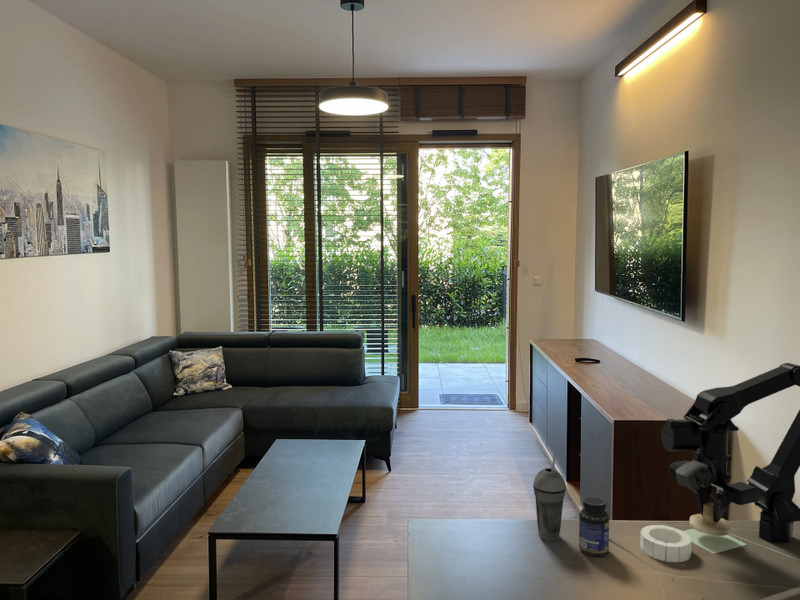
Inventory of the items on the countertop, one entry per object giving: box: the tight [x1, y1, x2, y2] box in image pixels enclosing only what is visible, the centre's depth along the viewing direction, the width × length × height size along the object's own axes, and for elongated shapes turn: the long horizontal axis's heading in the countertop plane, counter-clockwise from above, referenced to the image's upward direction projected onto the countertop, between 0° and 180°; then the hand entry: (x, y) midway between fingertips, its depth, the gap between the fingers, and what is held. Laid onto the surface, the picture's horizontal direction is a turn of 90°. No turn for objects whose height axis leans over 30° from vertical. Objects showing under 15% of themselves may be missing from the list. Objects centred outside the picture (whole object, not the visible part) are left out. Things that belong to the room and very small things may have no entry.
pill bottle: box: [578, 496, 610, 558], centre depth 127 cm, size 6×6×11 cm
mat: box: [682, 528, 748, 554], centre depth 131 cm, size 10×10×1 cm
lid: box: [689, 502, 732, 536], centre depth 130 cm, size 8×8×5 cm
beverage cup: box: [532, 449, 567, 542], centre depth 133 cm, size 7×7×20 cm
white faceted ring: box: [639, 524, 693, 563], centre depth 126 cm, size 10×10×4 cm
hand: (710, 518), depth 130 cm, fingers closed on lid, 3 cm apart
